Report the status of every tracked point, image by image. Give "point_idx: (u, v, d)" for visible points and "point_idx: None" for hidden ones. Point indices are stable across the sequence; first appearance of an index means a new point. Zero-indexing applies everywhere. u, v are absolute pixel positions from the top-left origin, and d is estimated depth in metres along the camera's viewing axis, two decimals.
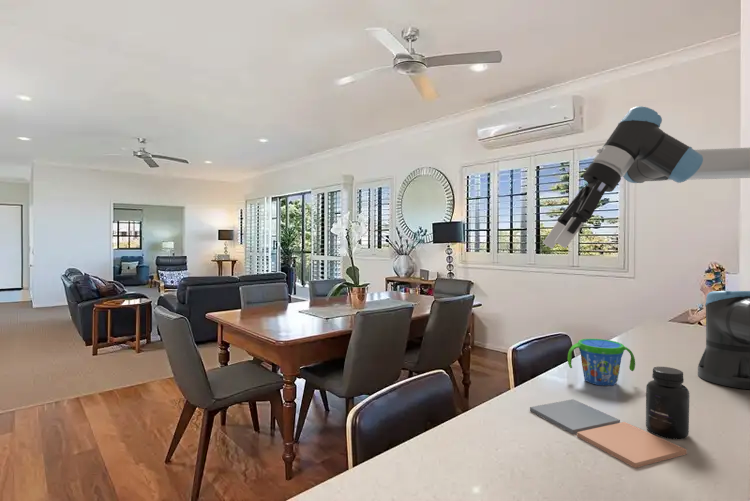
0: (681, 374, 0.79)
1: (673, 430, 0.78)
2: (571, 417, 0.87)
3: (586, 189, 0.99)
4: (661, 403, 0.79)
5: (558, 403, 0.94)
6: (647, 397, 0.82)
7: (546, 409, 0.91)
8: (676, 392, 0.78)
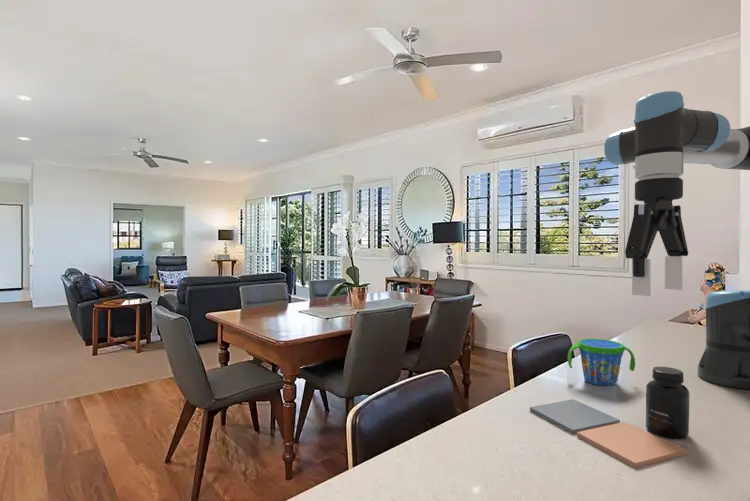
0: (681, 374, 0.79)
1: (673, 430, 0.78)
2: (571, 417, 0.87)
3: None
4: (661, 403, 0.79)
5: (558, 403, 0.94)
6: (647, 397, 0.82)
7: (546, 409, 0.91)
8: (676, 392, 0.78)
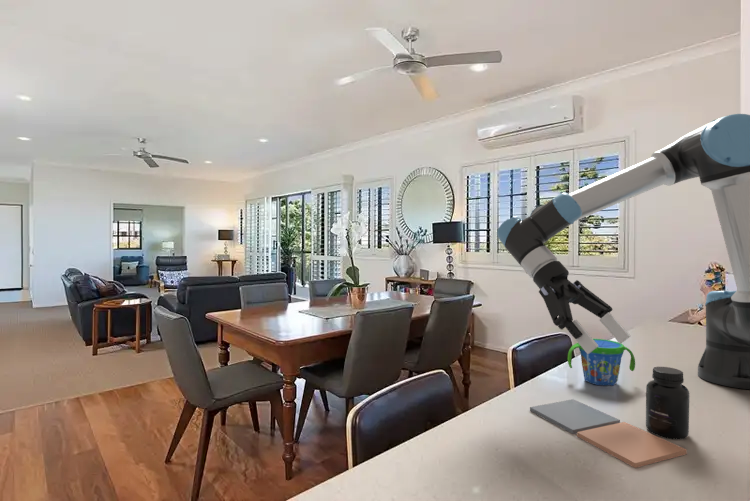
0: (681, 374, 0.79)
1: (673, 430, 0.78)
2: (571, 417, 0.87)
3: None
4: (661, 403, 0.79)
5: (558, 403, 0.94)
6: (647, 397, 0.82)
7: (546, 409, 0.91)
8: (676, 392, 0.78)
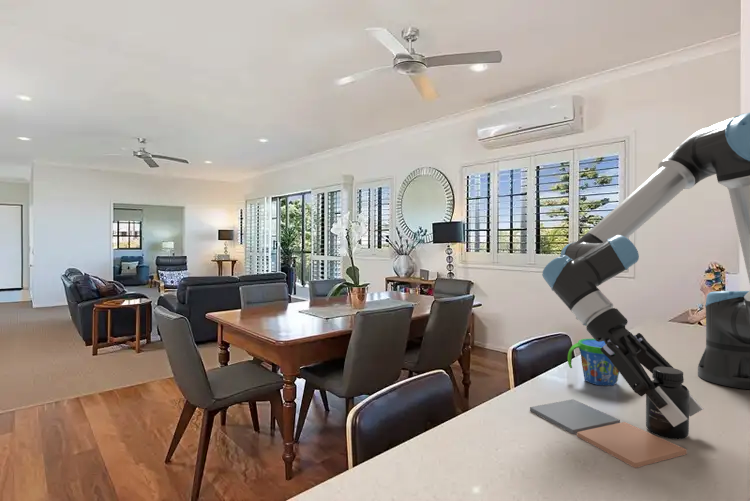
0: (681, 374, 0.79)
1: (673, 430, 0.78)
2: (571, 417, 0.87)
3: None
4: None
5: (558, 403, 0.94)
6: (647, 397, 0.82)
7: (546, 409, 0.91)
8: (676, 391, 0.78)
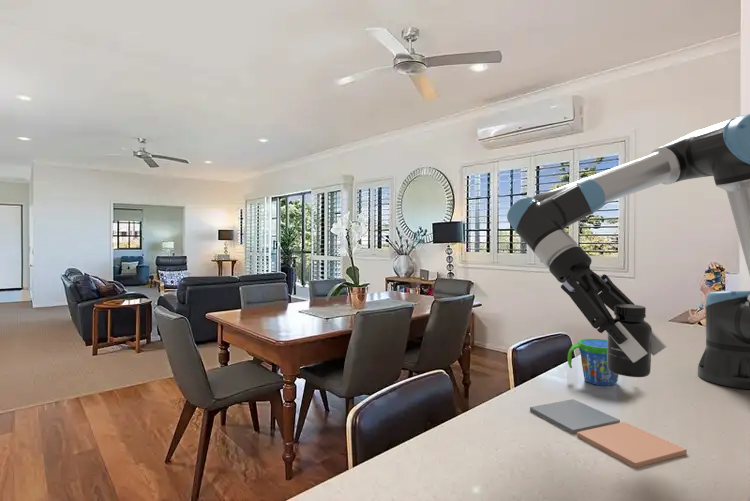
0: (643, 308, 0.75)
1: (634, 367, 0.74)
2: (571, 417, 0.87)
3: None
4: None
5: (558, 403, 0.94)
6: (608, 335, 0.78)
7: (546, 409, 0.91)
8: (637, 326, 0.74)
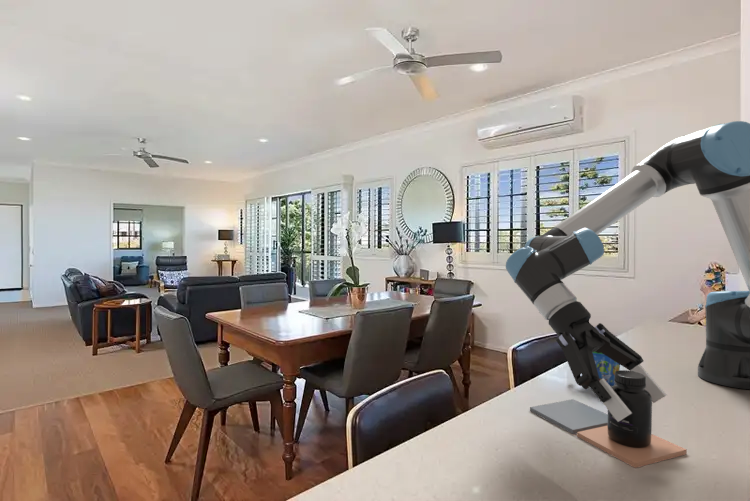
0: (643, 378, 0.75)
1: (635, 438, 0.74)
2: (571, 417, 0.87)
3: None
4: None
5: (558, 403, 0.94)
6: None
7: (546, 409, 0.91)
8: (638, 397, 0.74)
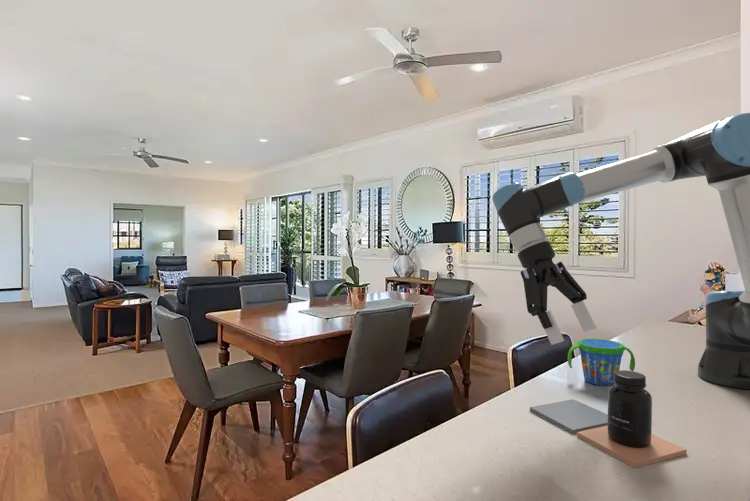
0: (643, 378, 0.75)
1: (635, 438, 0.74)
2: (571, 417, 0.87)
3: None
4: (622, 409, 0.74)
5: (558, 403, 0.94)
6: (608, 403, 0.78)
7: (546, 409, 0.91)
8: (638, 397, 0.74)
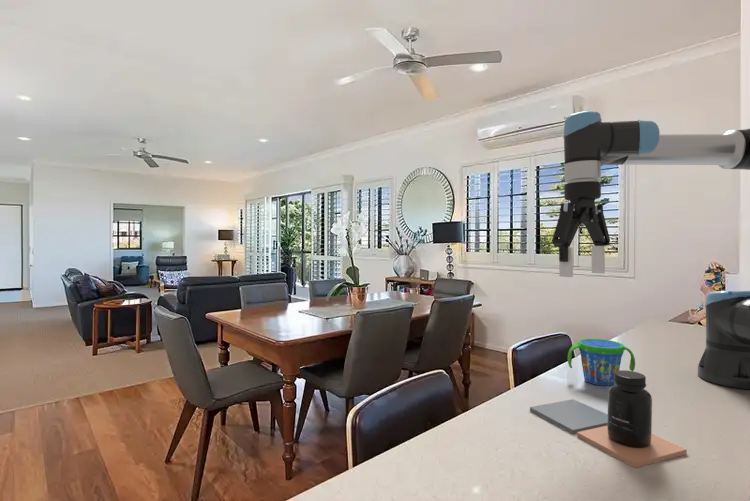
0: (643, 378, 0.75)
1: (635, 438, 0.74)
2: (571, 417, 0.87)
3: None
4: (622, 409, 0.74)
5: (558, 403, 0.94)
6: (608, 403, 0.78)
7: (546, 409, 0.91)
8: (638, 397, 0.74)
